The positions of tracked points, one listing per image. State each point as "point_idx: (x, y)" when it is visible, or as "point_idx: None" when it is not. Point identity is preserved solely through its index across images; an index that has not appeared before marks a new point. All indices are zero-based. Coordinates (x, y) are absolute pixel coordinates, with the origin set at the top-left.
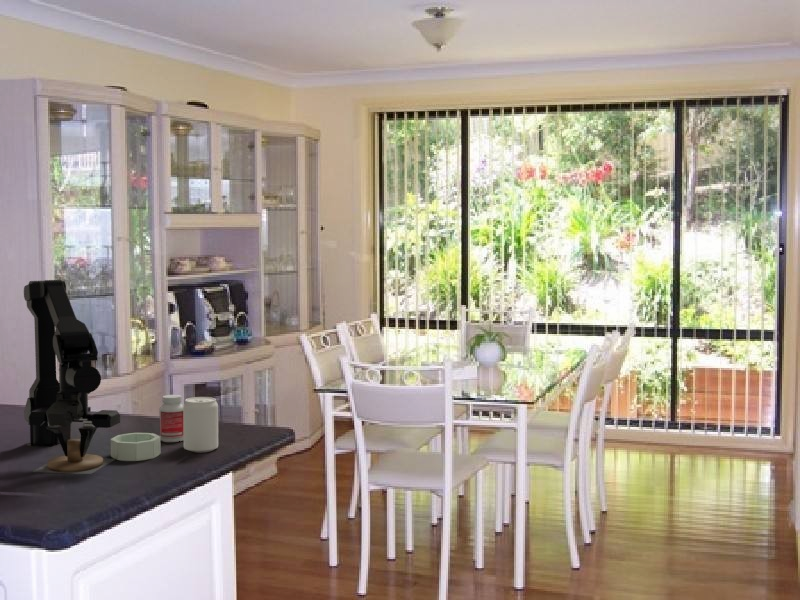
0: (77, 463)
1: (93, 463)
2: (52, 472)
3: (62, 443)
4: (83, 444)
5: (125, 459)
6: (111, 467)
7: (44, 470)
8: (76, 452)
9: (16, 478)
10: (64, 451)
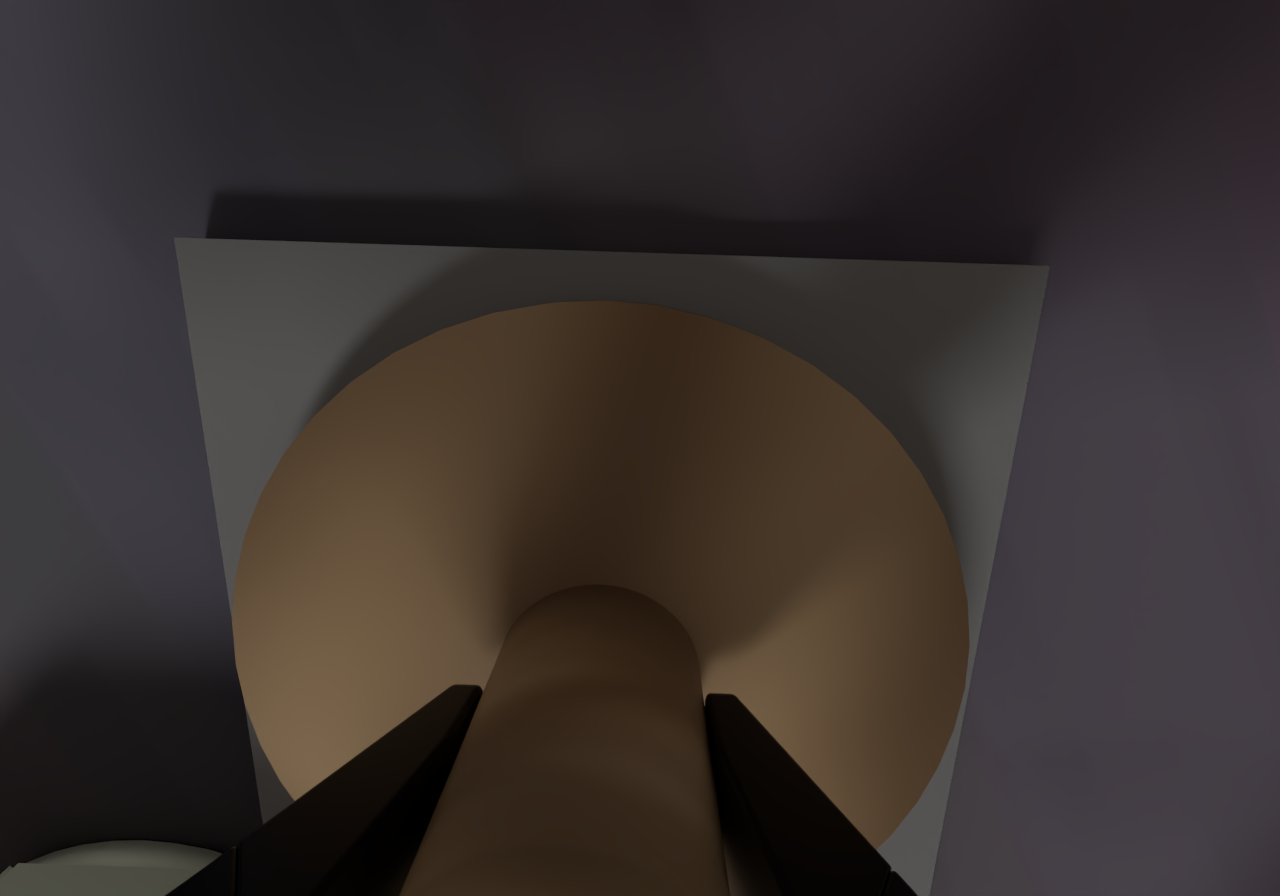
0: (489, 535)
1: (271, 564)
2: (740, 256)
3: (818, 848)
4: (293, 823)
5: (123, 877)
6: (209, 681)
7: (894, 345)
8: (507, 692)
9: (1184, 26)
10: (752, 732)
